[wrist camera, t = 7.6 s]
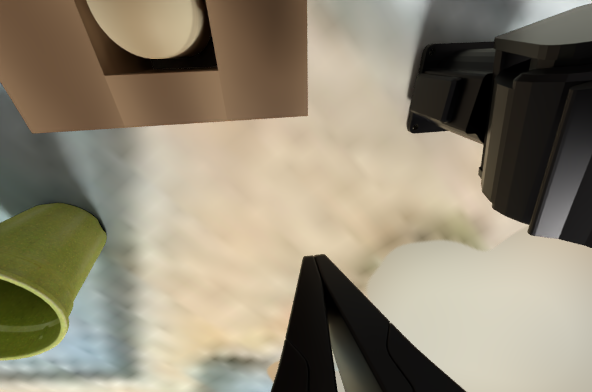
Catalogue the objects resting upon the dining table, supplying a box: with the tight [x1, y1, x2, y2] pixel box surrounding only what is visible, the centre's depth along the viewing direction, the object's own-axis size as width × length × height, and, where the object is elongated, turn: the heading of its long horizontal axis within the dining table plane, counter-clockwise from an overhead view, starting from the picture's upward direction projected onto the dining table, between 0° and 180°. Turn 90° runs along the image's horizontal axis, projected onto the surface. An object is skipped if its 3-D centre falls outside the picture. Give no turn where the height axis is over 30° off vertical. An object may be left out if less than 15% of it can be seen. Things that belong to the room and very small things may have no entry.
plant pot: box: [0, 203, 107, 360], centre depth 18 cm, size 9×9×9 cm
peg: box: [86, 0, 211, 59], centre depth 12 cm, size 4×4×5 cm
